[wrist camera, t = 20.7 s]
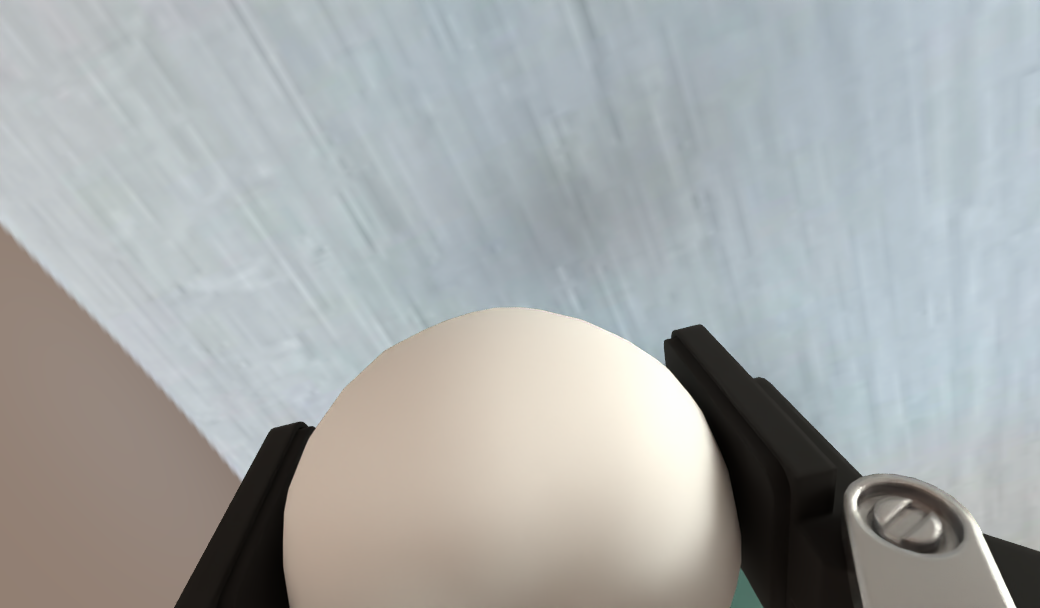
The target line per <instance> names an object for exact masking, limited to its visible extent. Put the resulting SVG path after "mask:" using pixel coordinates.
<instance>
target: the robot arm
mask: <svg viewBox="0 0 1040 608" xmlns="http://www.w3.org/2000/svg"><path fill="white" fill-rule="evenodd" d="M664 352H665V362H666V368H667V369H669V370H670V372H671V373H672V374H673V375H674V376H675V378H676V379H677V380H678V381H679V382H680V383H681V385H682V386H683V387H684V388H685V389H686V390H687V392H688V393H689V394H690V395H691V397H692V398H693V399H694V401H695V402H696V403H697V405H698V406H699V408H700V409H701V410H702V412H703V415H704V417H705V419H706V421H707V423H708V425H709V427H710V430H711V432H712V434H713V436H714V438H715V440H716V442H717V445H718V447H719V449H720V451H721V454H722V456H723V459H724V461H725V464H726V466H727V469H728V471H729V476H730V481H731V486H732V491H733V495H734V500H735V505H736V510H737V515H738V521H739V526H740V531H741V566H740V567H741V569H742V571H743V572H744V574H745V576H746V578H747V579H748V581H749V583H750V585H751V587H752V588H753V590H754V592H755V594H756V596H757V597H758V599H759V601H760V603H761V604H762V606H763V607H764V608H1040V552H1039V551H1036V550H1033V549H1030V548H1027V547H1024V546H1021V545H1017V544H1014V543H1011V542H1008V541H1005V540H1002V539H999V538H995V537H992V536H989V535H986V534H983V533H982V532H981V530H980V528H979V526H978V524H977V523H976V521H975V520H974V518H973V517H972V515H971V514H970V512H969V511H968V510H967V509H966V508H965V507H964V506H963V505H962V504H961V503H959V502H958V501H957V500H956V499H955V498H954V497H953V496H951V495H949V494H948V493H946V492H944V491H942V490H941V489H939V488H937V487H936V486H934V485H931V484H929V483H926V482H923V481H921V480H918V479H916V478H912V477H907V476H902V475H897V474H872V475H868V476H864V477H863V476H862V475H861V474H860V473H859V472H858V471H857V470H856V469H855V468H854V467H853V466H852V465H851V464H850V463H849V462H848V461H847V460H846V459H845V458H844V457H843V456H842V455H841V454H840V453H839V452H838V451H837V450H836V449H835V448H834V447H833V446H832V445H831V444H830V443H829V442H828V441H827V440H826V439H825V438H824V437H823V436H822V435H821V434H820V433H819V432H818V431H817V430H816V429H815V428H814V427H813V426H812V425H811V424H810V423H809V422H808V421H807V420H806V419H805V418H804V417H803V416H802V415H801V414H800V413H799V412H798V411H797V410H796V409H795V408H794V407H793V406H792V404H791V403H790V402H789V401H788V400H787V399H786V398H785V397H784V396H783V395H782V394H781V393H780V392H779V391H778V390H777V389H776V388H775V387H774V386H773V385H772V384H771V383H770V382H768V381H767V380H766V379H765V378H761V377H758V378H754V379H753V378H752V377H751V376H750V375H749V374H748V373H747V372H746V371H745V370H744V368H743V367H742V366H741V365H740V364H739V363H738V362H737V361H736V360H735V359H734V358H733V357H732V356H731V355H730V354H729V353H728V352H727V351H726V349H725V348H724V347H723V346H722V345H721V344H720V343H719V342H718V341H717V340H716V339H715V338H714V337H713V336H712V335H711V334H710V333H709V331H708V330H707V329H706V328H705V327H704V326H702V325H695V326H690V327H686V328H682V329H678V330H674V331H673V332H672V335H671V339H667V340H665V341H664ZM315 429H316V428H315V427H313V426H310V427H308V426H307V425H306V424H305V423H304V422H296V423H292V424H288V425H284V426H280V427H276V428H273V429H271V430H270V432H269V433H268V435H267V437H266V439H265V440H264V442H263V444H262V446H261V448H260V450H259V452H258V453H257V455H256V457H255V459H254V461H253V463H252V465H251V466H250V468H249V470H248V472H247V474H246V476H245V477H244V479H243V481H242V483H241V485H240V487H239V489H238V490H237V492H236V494H235V496H234V498H233V500H232V502H231V503H230V505H229V507H228V509H227V511H226V513H225V514H224V516H223V518H222V520H221V522H220V524H219V526H218V527H217V529H216V531H215V533H214V535H213V537H212V538H211V540H210V542H209V544H208V546H207V548H206V550H205V552H204V553H203V555H202V557H201V559H200V561H199V563H198V564H197V566H196V568H195V570H194V572H193V574H192V576H191V577H190V579H189V581H188V583H187V585H186V587H185V588H184V590H183V592H182V594H181V596H180V598H179V600H178V601H177V603H176V605H175V607H174V608H290V606H289V601H288V595H287V588H286V582H285V575H284V569H283V528H284V510H285V505H286V500H287V494H288V489H289V487H290V484H291V482H292V479H293V477H294V474H295V471H296V469H297V466H298V464H299V461H300V459H301V456H302V454H303V451H304V449H305V447H306V444H307V442H308V439H309V438H310V436H311V435H312V433H313V432H314V430H315Z"/></svg>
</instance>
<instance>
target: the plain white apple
mask: <svg viewBox="0 0 1040 608" xmlns="http://www.w3.org/2000/svg"><path fill="white" fill-rule="evenodd" d="M740 566H741V531H740V526H739V521H738V515H737V510H736V505H735V500H734V495H733V491H732V486H731V481H730V476H729V471H728V469H727V466H726V464H725V461H724V459H723V456H722V454H721V451H720V449H719V447H718V445H717V442H716V440H715V438H714V436H713V434H712V432H711V430H710V427H709V425H708V423H707V421H706V419H705V417H704V415H703V412H702V410H701V409H700V408H699V406H698V405H697V403H696V402H695V401H694V399H693V398H692V397H691V395H690V394H689V393H688V392H687V390H686V389H685V388H684V387H683V386H682V385H681V383H680V382H679V381H678V380H677V379H676V378H675V376H674V375H673V374H672V373H671V372H670V370H669V369H667V368H666V367H665V366H664V365H663V364H661V363H660V362H659V361H658V360H657V359H655V358H654V357H652V356H650V355H649V354H647V353H646V352H644V351H643V350H641V349H640V348H638V347H637V346H635V345H634V344H632V343H631V342H629V341H628V340H626V339H623V338H621V337H619V336H617V335H615V334H613V333H611V332H608V331H606V330H604V329H602V328H600V327H597V326H595V325H593V324H591V323H588V322H586V321H584V320H581V319H577V318H573V317H569V316H564V315H560V314H556V313H552V312H548V311H543V310H539V309H530V308H524V307H503V308H491V309H486V310H481V311H476V312H471V313H468V314H465V315H462V316H458V317H455V318H452V319H449V320H446V321H444V322H441V323H439V324H437V325H434V326H432V327H430V328H427V329H425V330H423V331H421V332H419V333H417V334H415V335H413V336H411V337H409V338H407V339H405V340H404V341H402V342H400V343H398V344H396V345H394V346H392V347H390V348H389V349H387V350H385V351H384V352H383V353H382V354H380V355H379V356H378V357H377V358H376V359H375V360H374V361H373V362H372V363H371V364H370V365H369V366H368V367H367V368H365V369H364V370H363V371H362V372H361V373H360V374H359V375H358V376H357V377H356V378H355V379H354V380H353V381H352V382H350V383H349V384H348V385H347V386H346V387H345V388H344V389H343V390H342V392H341V393H340V395H339V396H338V398H337V399H336V400H335V402H334V403H333V405H332V406H331V407H330V409H329V410H328V412H327V413H326V415H325V416H324V417H323V419H322V420H321V422H320V423H319V424H318V426H317V427H316V429H315V430H314V432H313V433H312V435H311V436H310V438H309V439H308V442H307V444H306V447H305V449H304V451H303V454H302V456H301V459H300V461H299V464H298V466H297V469H296V471H295V474H294V477H293V479H292V482H291V484H290V487H289V489H288V494H287V500H286V505H285V510H284V528H283V569H284V575H285V582H286V588H287V595H288V601H289V606H290V608H730V606H731V603H732V599H733V596H734V593H735V590H736V587H737V582H738V577H739V572H740Z"/></svg>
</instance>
